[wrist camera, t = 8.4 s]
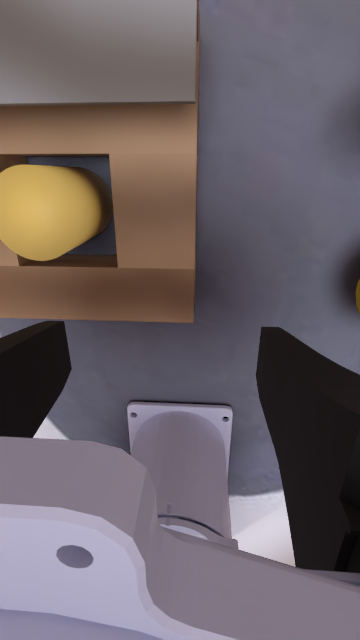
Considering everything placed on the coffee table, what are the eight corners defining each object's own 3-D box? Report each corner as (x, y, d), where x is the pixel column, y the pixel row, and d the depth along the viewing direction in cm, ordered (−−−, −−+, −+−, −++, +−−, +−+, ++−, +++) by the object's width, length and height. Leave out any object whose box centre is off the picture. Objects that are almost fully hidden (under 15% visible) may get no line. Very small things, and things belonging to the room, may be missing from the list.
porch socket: (194, 304, 22) (191, 358, 15) (-9, 299, 23) (-92, 348, 16) (199, 37, 16) (197, -51, 10) (-72, 44, 17) (-237, -33, 11)
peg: (113, 170, 19) (76, 169, 13) (113, 240, 21) (79, 265, 15) (45, 164, 19) (-20, 159, 14) (50, 234, 21) (-6, 256, 15)
